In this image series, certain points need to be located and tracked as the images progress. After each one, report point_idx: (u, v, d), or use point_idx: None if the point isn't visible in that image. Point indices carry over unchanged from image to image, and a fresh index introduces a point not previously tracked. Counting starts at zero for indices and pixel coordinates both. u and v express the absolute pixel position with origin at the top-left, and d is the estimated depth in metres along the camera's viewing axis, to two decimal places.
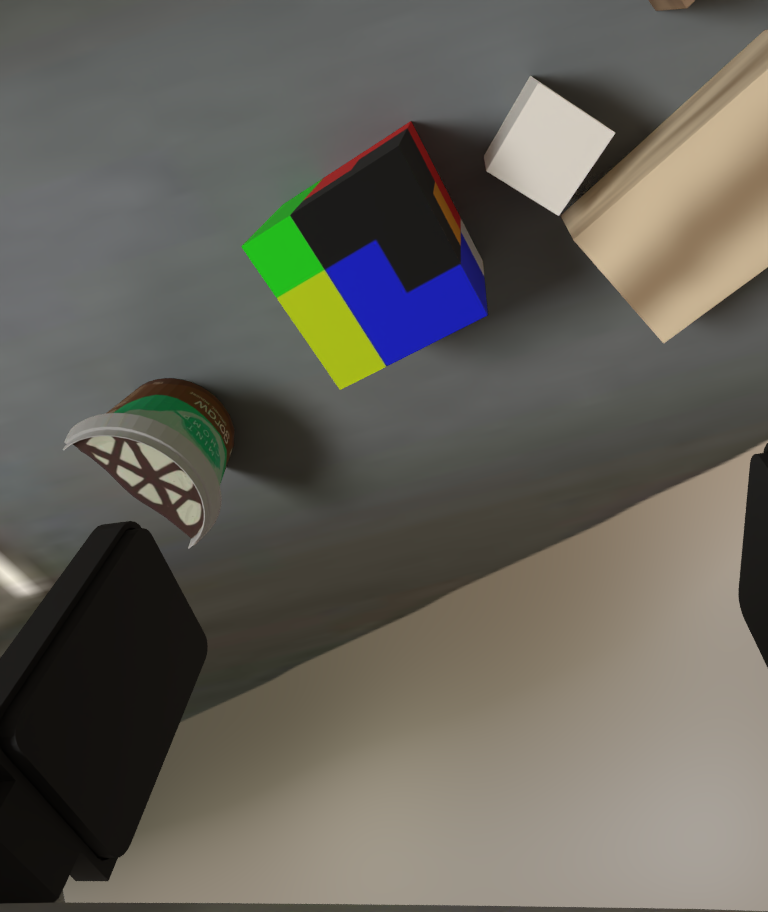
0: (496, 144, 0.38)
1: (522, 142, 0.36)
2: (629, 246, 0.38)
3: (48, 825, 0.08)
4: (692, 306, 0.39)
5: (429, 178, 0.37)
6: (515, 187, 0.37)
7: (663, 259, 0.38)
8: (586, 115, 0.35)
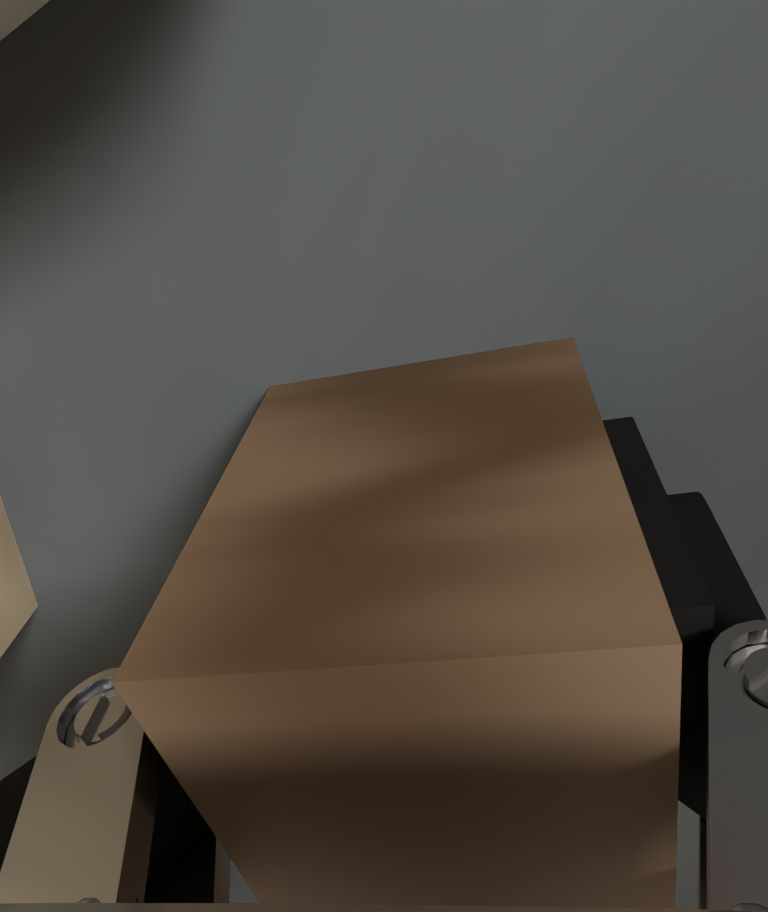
0: None
1: None
2: None
3: None
4: None
5: None
6: None
7: None
8: None
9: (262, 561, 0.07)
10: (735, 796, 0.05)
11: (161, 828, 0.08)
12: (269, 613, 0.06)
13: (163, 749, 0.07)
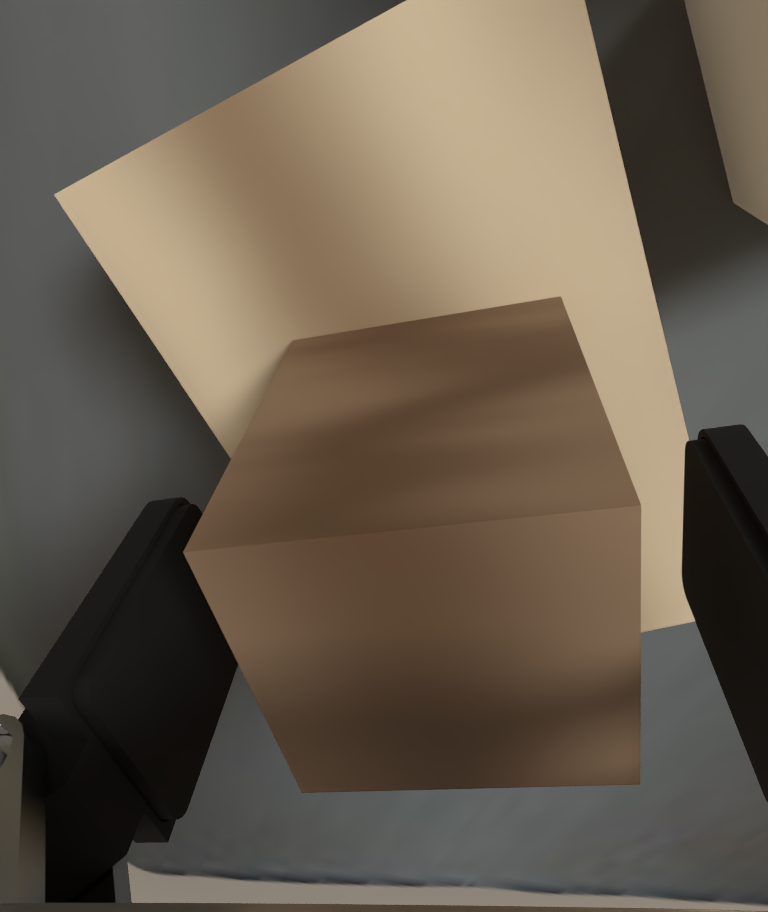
0: None
1: None
2: (439, 150, 0.10)
3: (116, 784, 0.08)
4: (176, 306, 0.12)
5: None
6: None
7: (356, 250, 0.11)
8: None
9: (301, 466, 0.08)
10: None
11: (52, 872, 0.08)
12: (310, 500, 0.08)
13: (220, 618, 0.08)
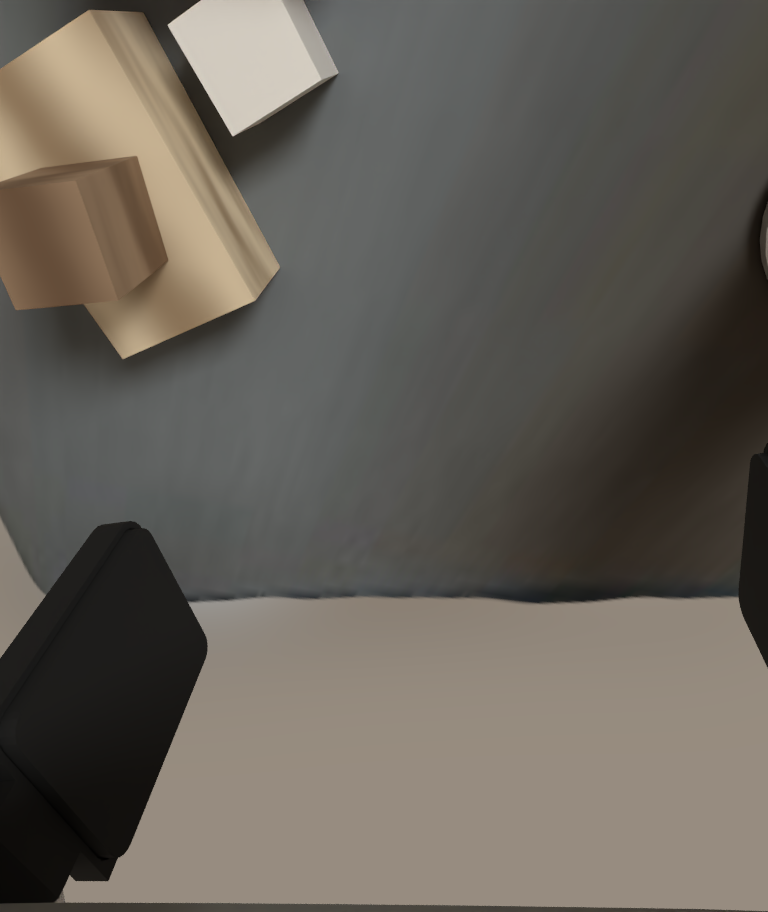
0: None
1: (270, 25, 0.28)
2: (73, 87, 0.30)
3: (48, 825, 0.08)
4: None
5: None
6: None
7: (55, 127, 0.31)
8: (264, 114, 0.30)
9: (8, 183, 0.28)
10: None
11: None
12: (4, 186, 0.27)
13: None
